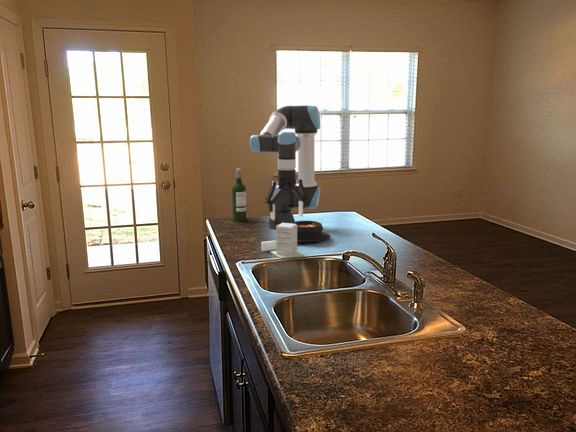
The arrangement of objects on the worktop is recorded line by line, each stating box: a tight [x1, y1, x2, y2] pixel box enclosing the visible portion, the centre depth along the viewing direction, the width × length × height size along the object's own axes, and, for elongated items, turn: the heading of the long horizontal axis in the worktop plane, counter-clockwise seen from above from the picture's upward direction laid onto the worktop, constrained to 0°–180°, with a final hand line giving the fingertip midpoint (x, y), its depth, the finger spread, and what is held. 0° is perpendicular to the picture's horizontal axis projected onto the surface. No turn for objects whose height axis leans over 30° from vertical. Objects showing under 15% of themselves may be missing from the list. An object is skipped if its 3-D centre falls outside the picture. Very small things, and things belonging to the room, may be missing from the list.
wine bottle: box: [231, 167, 247, 222], centre depth 277 cm, size 8×8×30 cm
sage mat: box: [269, 250, 304, 260], centre depth 212 cm, size 11×11×1 cm
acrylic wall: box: [260, 240, 276, 252], centre depth 220 cm, size 16×1×4 cm, turn 116°
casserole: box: [291, 220, 332, 244], centre depth 235 cm, size 25×19×8 cm
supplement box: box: [275, 223, 298, 255], centre depth 211 cm, size 7×7×13 cm
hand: (287, 217), depth 209 cm, fingers open, 13 cm apart
